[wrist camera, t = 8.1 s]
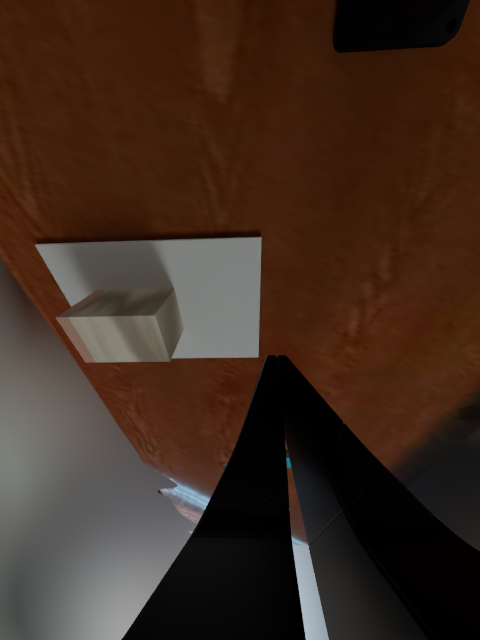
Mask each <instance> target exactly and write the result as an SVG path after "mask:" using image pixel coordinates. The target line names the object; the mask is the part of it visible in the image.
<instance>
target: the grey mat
mask: <svg viewBox="0 0 480 640" xmlns="http://www.w3.org/2000/svg"><path fill="white" fill-rule="evenodd" d="M35 246H36V248H37V249H38V251H39V253H40V254H41V256H42V258H43V260H44V261H45V263H46V265H47V266H48V268H49V270H50V271H51V273H52V275H53V276H54V278H55V280H56V282H57V283H58V285H59V287H60V288H61V290H62V292H63V293H64V295H65V297H66V298H67V300H68V302H69V304H70V305H71V307H72V306H74V305H75V304H77V303H78V302H80V301H81V300H83V299H84V298H86V297H87V296H89V295H90V294H92V293H93V292H95V291H98V290H140V289H175V293H176V298H177V302H178V306H179V310H180V314H181V318H182V323H183V327H184V331H183V333H182V335H181V338H180V340H179V342H178V344H177V347H176V349H175V351H174V354H173V356H172V358H232V357H258V351H259V312H260V273H261V237H233V238H202V239H171V240H140V241H109V242H78V243H47V244H36V245H35Z"/></svg>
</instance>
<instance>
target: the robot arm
mask: <svg viewBox="0 0 480 640" xmlns="http://www.w3.org/2000/svg"><path fill="white" fill-rule="evenodd" d="M469 1H470V0H339V3H338V10H337V17H336V24H335V31H334V38H333V45H334V49H335V50H336V51H337V52H339V53H344V52H360V51H376V50H391V49H407V48H423V47H439V46H442V45H444V44H446V43H447V42H448V41H450V40H451V39H452V38H453V37H454V36H455V35H456V34H457V32H458V30H459V28H460V26H461V23H462V21H463V18H464V15H465V12H466V9H467V7H468V4H469ZM447 24H449V26H450V30H449V33H448V34H446V32H445V29H446V25H447ZM342 31H346V33H347V40H346V41H342V39H341V32H342ZM285 441H286V442H285ZM286 445H287V450H288V454H289V459H290V463H291V468H292V473H293V477H294V482H295V486H296V491H297V495H298V500H299V504H300V509H301V514H302V518H303V523H304V527H305V532H306V536H307V541H308V545H309V550H310V554H311V559H312V564H313V569H314V573H315V577H316V582H317V586H318V591H319V596H320V600H321V605H322V609H323V614H324V618H325V623H326V627H327V632H328V637H329V640H480V551H478V550H477V549H475V548H474V547H472V546H471V545H470V544H468V543H467V542H466V541H464V540H463V539H461V538H460V537H458V535H456V534H455V533H454V532H453V531H451V530H450V529H449V528H448V527H447V526H445V525H444V524H443V523H442V522H441V521H440V520H438V519H437V518H436V517H435V516H434V515H433V514H432V513H431V512H430V511H429V510H428V509H427V508H426V507H425V506H424V505H423V504H422V503H421V502H420V501H419V500H418V499H417V498H416V497H415V496H414V495H413V494H412V493H411V492H410V491H409V490H408V489H407V488H406V487H405V486H404V485H403V484H402V483H401V482H400V481H399V480H398V479H397V478H396V477H395V476H394V475H393V474H392V473H391V472H390V471H389V470H388V469H387V468H386V467H385V466H384V465H383V464H382V463H381V462H380V461H379V460H378V459H377V458H376V457H375V456H374V455H373V454H372V453H371V452H370V451H369V450H368V449H367V448H366V447H365V446H364V445H363V444H362V442H361V441H360V440H359V439H358V438H357V437H356V436H355V435H354V434H353V432H352V431H351V430H350V429H349V428H348V427H347V425H346V424H343V421H342V420H341V419H340V417H339V416H338V415H337V414H336V413H335V412H334V411H333V409H332V408H331V407H330V406H329V405H328V404H327V402H326V401H325V400H324V399H323V398H322V397H321V395H320V394H319V393H318V392H317V391H316V390H315V389H314V387H313V386H312V385H311V384H310V383H309V382H308V380H307V379H306V378H305V377H304V376H303V375H302V373H301V372H300V371H299V370H298V369H297V368H296V367H295V365H294V364H293V363H292V362H291V361H290V360H289V358H288V357H287V356H285V355H277V356H275V355H267V356H266V359H265V362H264V365H263V368H262V370H261V373H260V376H259V379H258V382H257V385H256V388H255V391H254V394H253V397H252V400H251V403H250V406H249V409H248V412H247V415H246V418H245V421H244V424H243V426H242V429H241V432H240V435H239V438H238V440H237V443H236V446H235V448H234V450H233V453H232V455H231V457H230V459H229V462H228V464H227V466H226V468H225V470H224V472H223V474H222V476H221V478H220V480H219V482H218V484H217V487H216V489H215V491H214V493H213V495H212V497H211V499H210V501H209V503H208V505H207V507H206V509H205V511H204V513H203V515H202V517H201V519H200V521H199V522H198V524H197V526H196V528H195V530H194V531H193V533H192V535H191V537H190V538H189V540H188V541H187V543H186V544H185V546H184V547H183V549H182V550H181V552H180V553H179V555H178V556H177V558H176V559H175V561H174V562H173V564H172V565H171V567H170V568H169V570H168V571H167V573H166V574H165V576H164V578H163V579H162V580H161V582H160V583H159V585H158V586H157V588H156V589H155V591H154V592H153V594H152V595H151V597H150V598H149V600H148V601H147V603H146V604H145V606H144V607H143V609H142V610H141V612H140V613H139V615H138V616H137V618H136V619H135V621H134V622H133V624H132V625H131V627H130V628H129V630H128V631H127V633H126V634H125V636H124V637H123V638H122V640H306V639H305V632H304V625H303V619H302V612H301V604H300V597H299V590H298V583H297V576H296V568H295V561H294V554H293V547H292V538H291V527H290V513H289V495H288V478H287V460H286Z"/></svg>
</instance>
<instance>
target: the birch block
mask: <svg viewBox="0 0 480 640" xmlns="http://www.w3.org/2000/svg"><path fill="white" fill-rule="evenodd" d="M56 319H57V320H58V322H59V323H60V325H61V326H62V328H63V329H64V331H65V332H66V334H67V335H68V337H69V338H70V340H71V341H72V343H73V344H74V346H75V347H76V349H77V350H78V352H79V353H80V355H81V356H82V358H83V359H84V361H85V362H166V361H170V360H171V358H172V356H173V354H174V351H175V349H176V347H177V344H178V342H179V340H180V338H181V335H182V333H183V331H184V327H183V323H182V318H181V314H180V310H179V306H178V302H177V298H176V293H175V289H140V290H98V291H95V292H93V293H92V294H90V295H89V296H87V297H86V298H84V299H83V300H81V301H80V302H78V303H77V304H75V305H74V306H72V307H71V308H69V309H68V310H66V311H65V312H63V313H62V314H60V315H59V316H57V317H56Z"/></svg>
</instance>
